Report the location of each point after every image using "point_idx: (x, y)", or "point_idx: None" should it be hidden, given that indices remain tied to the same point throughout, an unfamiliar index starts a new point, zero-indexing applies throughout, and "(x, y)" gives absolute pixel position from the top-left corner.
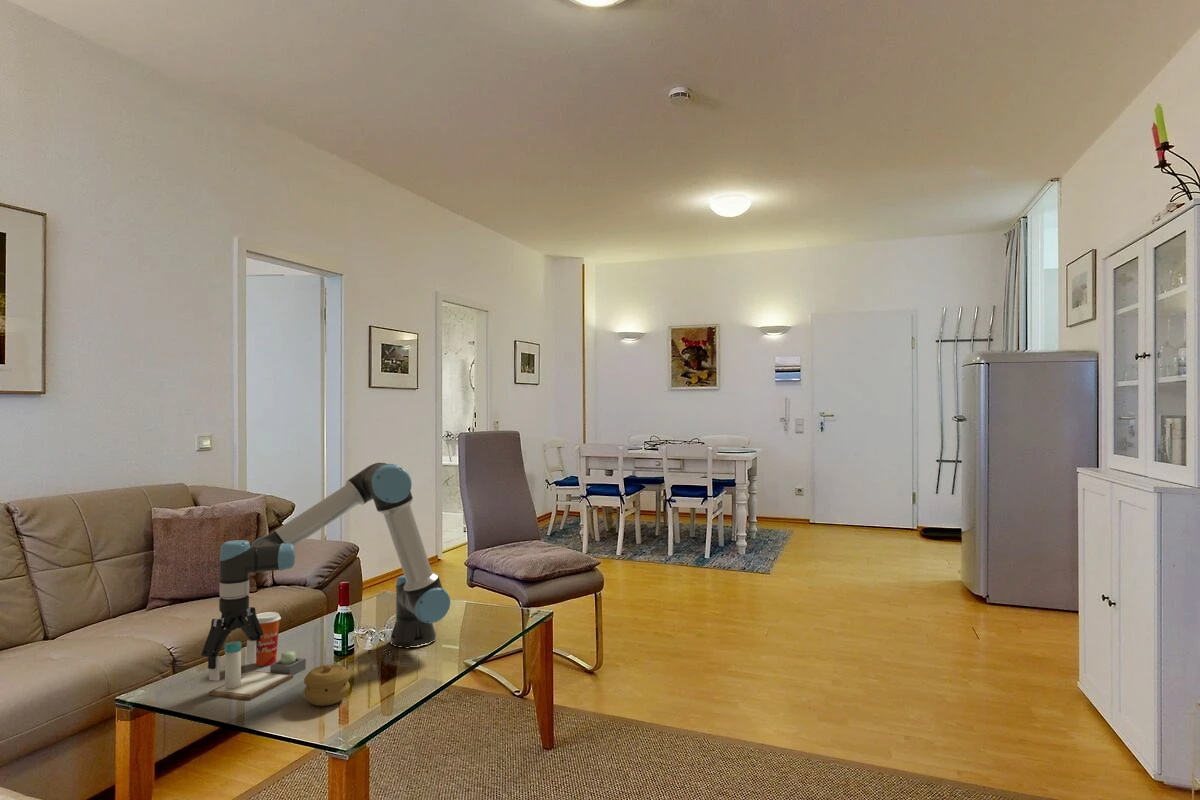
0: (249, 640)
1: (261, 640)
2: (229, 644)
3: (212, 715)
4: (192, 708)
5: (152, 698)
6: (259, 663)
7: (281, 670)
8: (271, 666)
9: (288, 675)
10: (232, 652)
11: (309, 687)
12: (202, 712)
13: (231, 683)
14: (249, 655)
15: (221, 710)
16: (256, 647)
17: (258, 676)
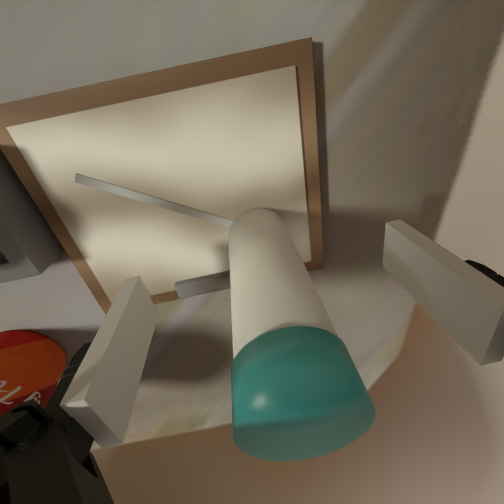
0: (104, 435)
1: None
2: (341, 425)
3: (496, 49)
4: (433, 201)
5: (384, 352)
6: (55, 353)
7: (13, 202)
8: (42, 263)
9: (3, 131)
10: (334, 334)
11: None
12: (465, 129)
13: (284, 226)
14: (141, 331)
15: (440, 65)
16: (78, 359)
17: (129, 244)
